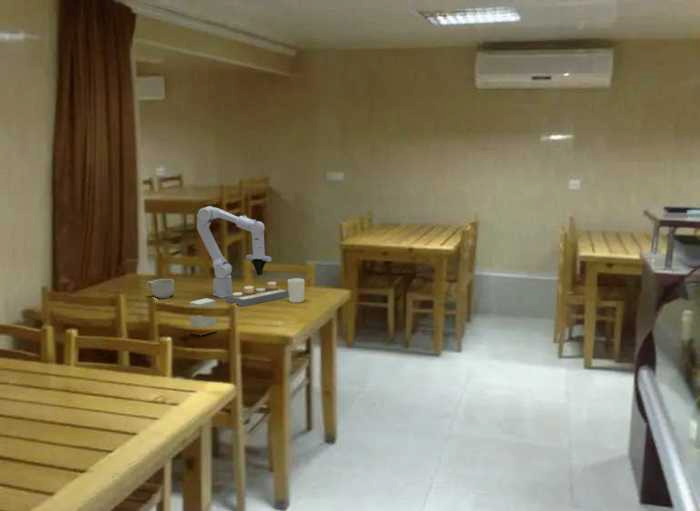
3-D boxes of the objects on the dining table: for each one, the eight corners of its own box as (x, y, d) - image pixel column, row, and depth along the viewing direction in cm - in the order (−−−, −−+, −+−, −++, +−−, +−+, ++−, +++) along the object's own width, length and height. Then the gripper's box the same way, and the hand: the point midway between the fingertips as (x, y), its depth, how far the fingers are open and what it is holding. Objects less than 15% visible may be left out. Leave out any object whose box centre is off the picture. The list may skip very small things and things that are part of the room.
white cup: (302, 303, 306) (301, 282, 304) (286, 302, 307) (285, 281, 305) (307, 299, 313) (306, 278, 311) (291, 298, 315) (290, 278, 313)
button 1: (231, 301, 310) (230, 293, 309) (239, 299, 313) (238, 291, 312) (236, 303, 307) (235, 294, 306) (244, 301, 309) (244, 293, 309)
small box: (207, 329, 265) (205, 297, 263) (217, 332, 261) (215, 300, 259) (190, 334, 259) (188, 301, 257) (200, 337, 255) (198, 304, 253)
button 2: (242, 295, 314) (242, 286, 313) (250, 293, 317) (250, 285, 316) (248, 296, 311) (247, 288, 310) (255, 295, 313) (255, 286, 313)
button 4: (265, 290, 322) (265, 282, 322) (272, 289, 325) (272, 281, 325) (270, 292, 319) (270, 283, 318) (278, 290, 322) (277, 282, 321)
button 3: (254, 296, 318) (254, 288, 318) (262, 295, 321) (261, 287, 321) (259, 298, 315) (259, 290, 314) (267, 296, 318) (267, 288, 317)
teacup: (179, 295, 325) (178, 279, 324) (164, 300, 316) (163, 284, 314) (157, 293, 331) (156, 277, 330) (142, 298, 322) (140, 281, 320)
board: (226, 301, 311) (225, 294, 311) (271, 292, 328) (271, 286, 328) (242, 306, 301) (242, 299, 300) (288, 297, 318) (288, 290, 318)
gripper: (241, 246, 318) (242, 274, 321) (263, 249, 310) (265, 277, 312) (251, 244, 324) (252, 272, 326) (274, 247, 316) (275, 275, 318)
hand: (259, 274), depth 320 cm, fingers closed
